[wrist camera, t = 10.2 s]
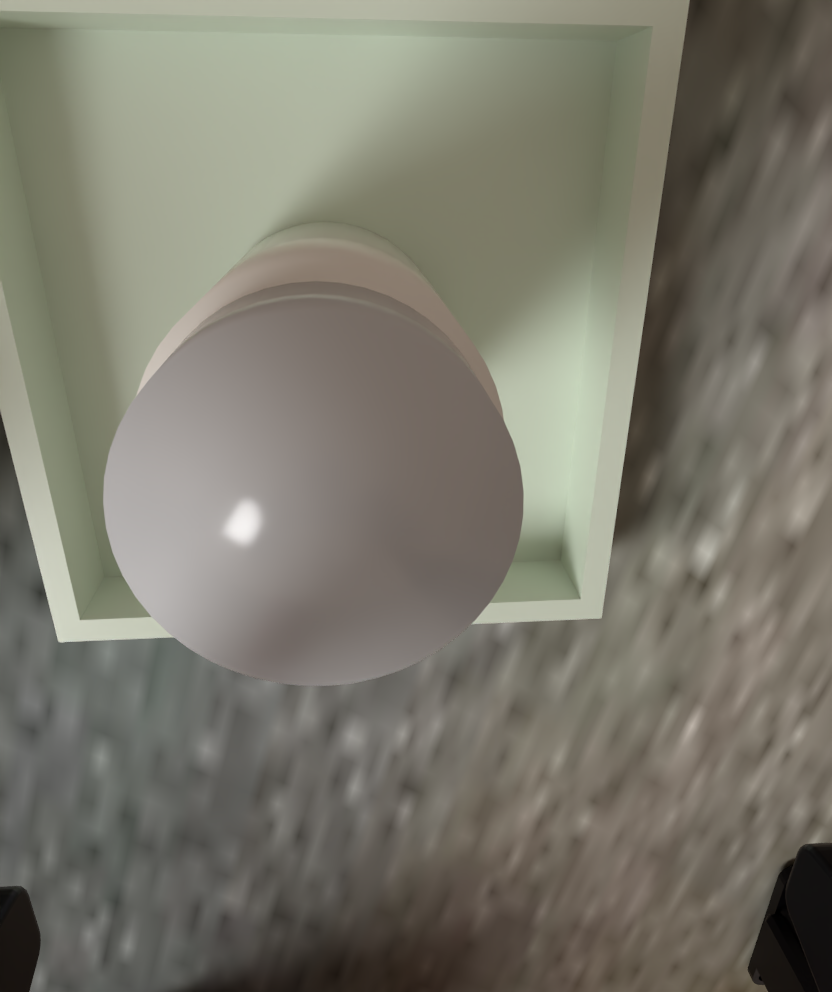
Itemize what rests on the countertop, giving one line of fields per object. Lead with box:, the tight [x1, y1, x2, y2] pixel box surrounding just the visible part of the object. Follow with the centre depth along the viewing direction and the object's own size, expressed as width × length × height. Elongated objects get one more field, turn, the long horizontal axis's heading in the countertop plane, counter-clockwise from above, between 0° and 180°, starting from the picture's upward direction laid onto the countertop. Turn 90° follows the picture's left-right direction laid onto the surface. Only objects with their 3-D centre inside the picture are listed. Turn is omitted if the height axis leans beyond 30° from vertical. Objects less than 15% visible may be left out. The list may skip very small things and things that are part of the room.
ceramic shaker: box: [103, 222, 524, 686], centre depth 12 cm, size 5×5×9 cm
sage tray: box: [0, 0, 690, 642], centre depth 16 cm, size 13×13×2 cm
